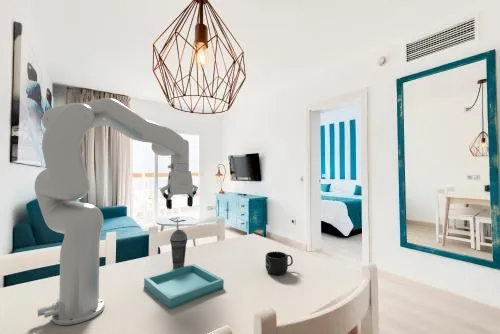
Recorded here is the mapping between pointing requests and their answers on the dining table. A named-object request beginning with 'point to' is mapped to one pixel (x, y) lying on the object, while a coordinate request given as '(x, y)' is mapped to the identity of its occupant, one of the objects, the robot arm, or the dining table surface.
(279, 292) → the dining table surface
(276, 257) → the mug
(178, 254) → the beverage cup
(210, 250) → the dining table surface
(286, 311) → the dining table surface
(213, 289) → the tray
